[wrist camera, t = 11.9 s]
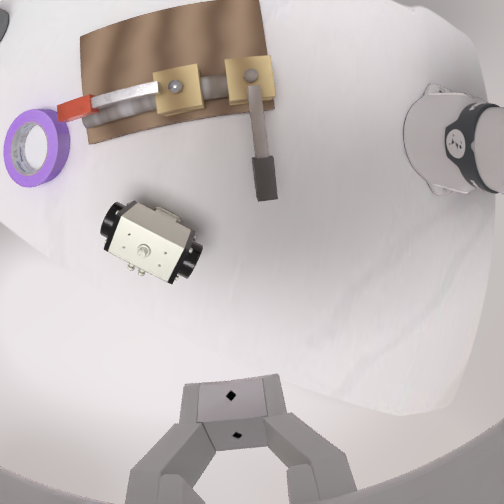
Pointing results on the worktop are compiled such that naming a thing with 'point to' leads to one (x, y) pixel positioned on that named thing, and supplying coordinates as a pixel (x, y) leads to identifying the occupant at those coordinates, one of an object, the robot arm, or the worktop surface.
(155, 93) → the red lever
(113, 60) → the pipe board
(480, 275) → the worktop surface
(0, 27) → the water bottle
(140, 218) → the pneumatic valve
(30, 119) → the masking tape
